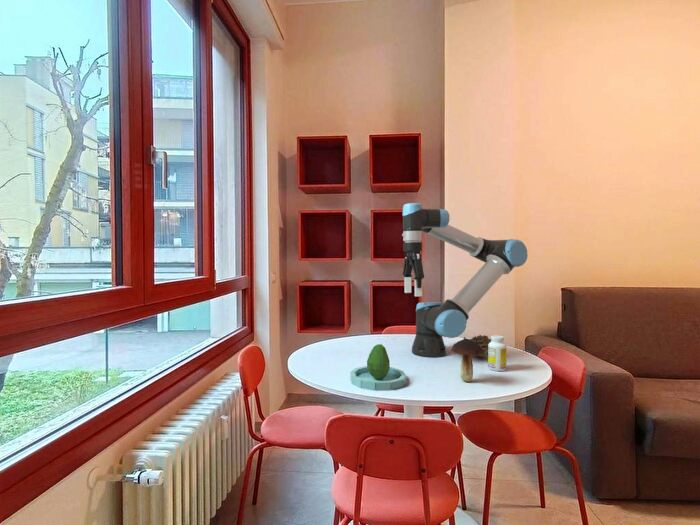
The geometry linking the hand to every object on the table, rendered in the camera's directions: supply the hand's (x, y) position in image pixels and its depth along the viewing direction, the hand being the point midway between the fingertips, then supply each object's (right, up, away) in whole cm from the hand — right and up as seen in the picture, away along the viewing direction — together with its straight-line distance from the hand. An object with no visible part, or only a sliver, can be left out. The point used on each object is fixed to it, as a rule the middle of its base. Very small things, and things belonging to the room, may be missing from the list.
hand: (413, 294), depth 156 cm
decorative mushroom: (+15, -29, -21) cm, 39 cm away
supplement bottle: (+32, -29, -6) cm, 43 cm away
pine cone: (+30, -28, +15) cm, 44 cm away
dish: (-16, -28, -21) cm, 39 cm away
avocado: (-16, -28, -21) cm, 38 cm away
